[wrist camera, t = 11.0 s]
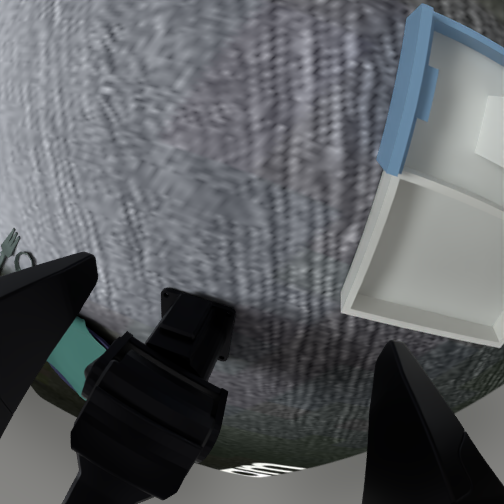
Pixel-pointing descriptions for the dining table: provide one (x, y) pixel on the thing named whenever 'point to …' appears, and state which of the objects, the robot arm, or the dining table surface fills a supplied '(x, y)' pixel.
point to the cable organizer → (436, 193)
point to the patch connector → (492, 131)
